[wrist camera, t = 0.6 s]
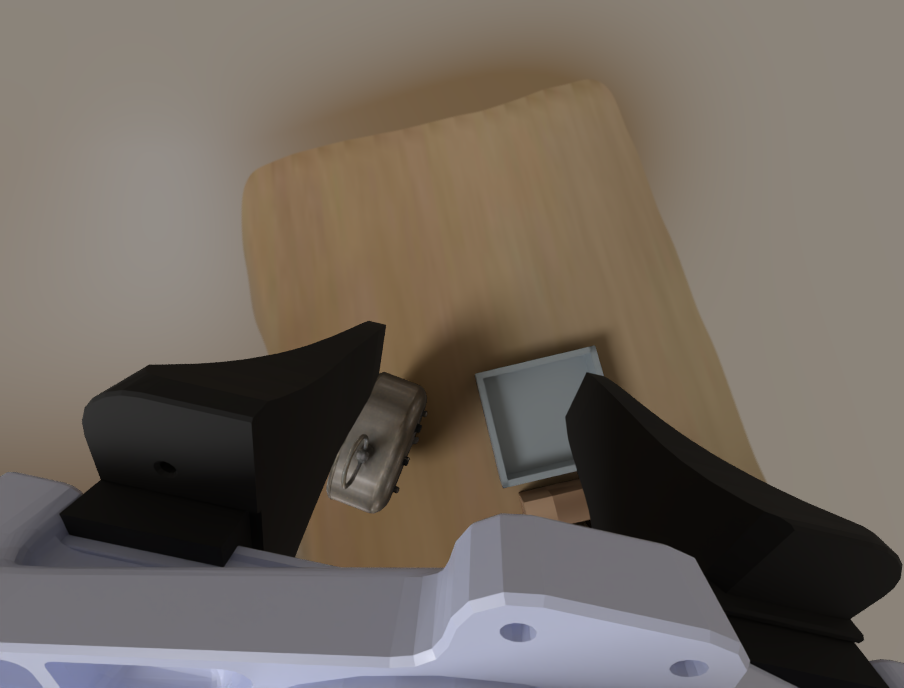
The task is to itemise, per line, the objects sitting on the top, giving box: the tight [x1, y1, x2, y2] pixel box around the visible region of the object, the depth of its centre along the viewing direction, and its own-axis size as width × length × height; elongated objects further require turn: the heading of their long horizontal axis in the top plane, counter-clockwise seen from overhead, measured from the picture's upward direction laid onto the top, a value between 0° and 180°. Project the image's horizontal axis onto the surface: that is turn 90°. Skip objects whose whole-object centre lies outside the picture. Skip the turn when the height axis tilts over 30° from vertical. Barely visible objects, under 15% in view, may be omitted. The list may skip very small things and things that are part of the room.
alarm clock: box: [327, 372, 427, 513], centre depth 28 cm, size 11×5×16 cm, turn 159°
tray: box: [475, 346, 604, 488], centre depth 34 cm, size 11×12×2 cm
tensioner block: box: [519, 479, 590, 524], centre depth 33 cm, size 9×9×3 cm
